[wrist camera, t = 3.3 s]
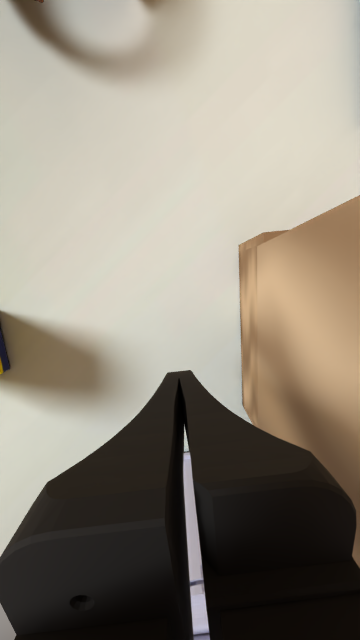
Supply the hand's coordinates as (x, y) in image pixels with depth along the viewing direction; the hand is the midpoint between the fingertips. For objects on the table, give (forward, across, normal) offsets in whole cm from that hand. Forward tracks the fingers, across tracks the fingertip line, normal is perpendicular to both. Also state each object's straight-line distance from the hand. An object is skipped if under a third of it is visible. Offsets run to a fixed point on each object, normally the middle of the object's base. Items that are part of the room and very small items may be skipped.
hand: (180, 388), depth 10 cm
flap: (-1, -5, 0) cm, 6 cm away
